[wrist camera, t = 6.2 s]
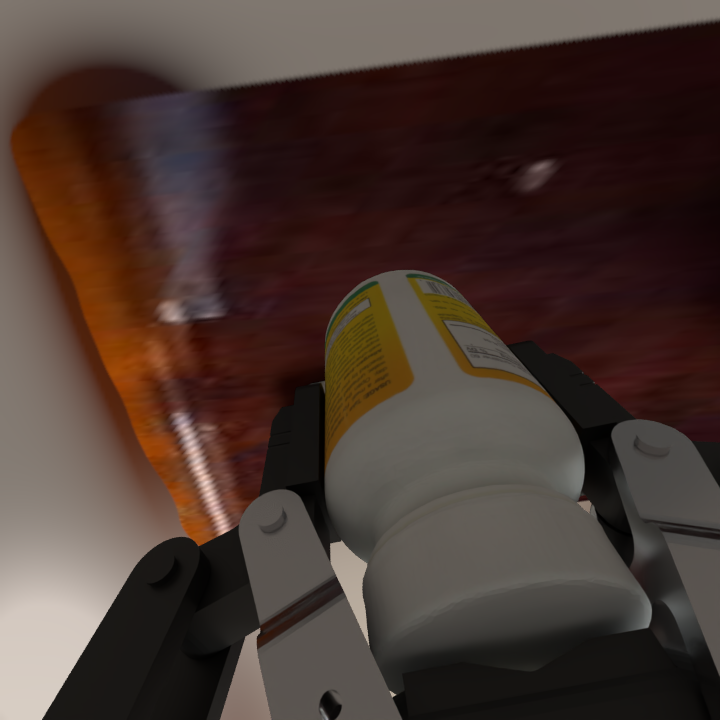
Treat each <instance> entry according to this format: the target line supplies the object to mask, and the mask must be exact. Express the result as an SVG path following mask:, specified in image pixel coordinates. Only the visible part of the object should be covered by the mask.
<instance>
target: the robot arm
mask: <svg viewBox="0 0 720 720" xmlns="http://www.w3.org/2000/svg"><path fill="white" fill-rule="evenodd" d="M506 346H507V347H508V348H509V350H510V351H511V352H512V353H513V354H514V355H515V356H516V357H517V359H518V360H519V361H520V362H521V363H522V364H523V365H524V366H525V368H526V369H527V370H528V371H529V372H530V373H531V374H532V376H533V377H534V378H535V379H536V380H537V381H538V383H539V384H540V385H541V386H542V387H543V388H544V389H545V390H546V392H547V393H548V394H549V395H550V397H551V398H552V399H553V400H554V401H555V403H556V404H557V405H558V406H559V407H560V408H561V410H562V411H563V412H564V414H565V415H566V416H567V418H568V419H569V420H570V422H571V423H572V425H573V427H574V429H575V431H576V433H577V435H578V437H579V440H580V443H581V446H582V450H583V454H584V464H585V473H584V482H583V486H582V490H581V493H580V496H582V495H586V496H587V498H588V499H589V500H590V502H591V503H592V505H591V508H590V514H591V515H592V516H593V517H594V518H595V519H596V520H597V521H598V522H599V523H600V525H601V526H602V528H603V530H604V532H605V534H606V536H607V538H608V539H609V541H610V542H611V544H612V545H613V547H614V548H615V550H616V551H617V553H618V554H619V555H620V557H621V558H622V560H623V561H624V563H625V564H626V566H627V567H628V569H629V570H630V572H631V573H632V575H633V576H634V577H635V579H636V580H637V582H638V583H639V585H640V586H641V588H642V589H643V590H644V592H645V593H646V595H647V597H648V599H649V601H650V604H651V607H652V616H651V621H650V623H649V626H648V628H643V629H638V630H633V631H627V632H622V633H616V634H611V635H606V636H600V637H595V638H590V639H587V640H585V641H584V642H582V643H580V644H579V645H577V646H576V647H574V648H572V649H571V650H569V651H567V652H566V653H564V654H562V655H561V656H559V657H558V658H556V659H554V660H553V661H551V662H549V663H548V664H546V665H545V666H543V667H541V668H540V669H538V670H535V671H521V670H514V669H507V668H500V667H493V666H486V665H479V664H472V663H465V662H461V663H455V664H450V665H444V666H439V667H434V668H428V669H423V670H418V671H412V672H407V673H402V676H403V683H404V689H405V690H404V691H402V692H401V693H399V694H397V695H396V696H394V697H393V698H392V696H391V694H390V692H389V689H388V687H387V685H386V683H385V681H384V678H383V676H382V674H381V672H380V670H379V668H378V665H377V663H376V661H375V659H374V657H373V654H372V652H371V650H370V648H369V646H368V643H367V641H366V639H365V637H364V635H363V633H362V630H361V628H360V626H359V624H358V622H357V619H356V617H355V615H354V613H353V611H352V609H351V606H350V604H349V602H348V600H347V597H346V595H345V593H344V591H343V589H342V587H341V585H340V583H339V581H338V579H337V577H336V574H335V572H334V570H333V568H332V566H331V563H330V543H334V542H340V541H341V538H340V537H339V535H338V534H337V532H336V530H335V528H334V527H333V524H332V522H331V520H330V517H329V514H328V511H327V507H326V501H325V485H324V441H325V392H324V389H323V386H322V384H321V383H315V384H311V385H306V386H301V387H296V390H295V399H294V405H292V406H287V407H282V408H281V409H280V411H279V412H278V414H277V415H276V417H275V418H274V420H273V422H272V427H271V433H270V436H271V438H270V439H269V444H268V448H269V449H268V450H267V456H266V461H265V467H264V472H263V478H262V484H261V489H260V495H259V497H258V498H257V499H256V500H254V501H253V502H252V503H251V504H250V505H249V507H248V508H247V509H246V510H245V512H244V514H243V515H242V518H241V520H240V524H239V525H238V526H236V527H235V528H234V529H232V530H230V531H228V532H226V533H224V534H222V535H220V536H218V537H216V538H214V539H212V540H210V541H209V542H207V543H205V544H203V545H201V546H198V545H197V544H196V543H195V541H193V540H192V539H190V538H187V537H176V538H172V539H169V540H167V541H164V542H162V543H161V544H159V545H157V546H156V547H154V548H153V549H152V550H150V551H149V552H148V553H147V554H146V555H145V556H144V557H143V558H142V559H141V560H140V561H139V562H138V564H137V565H136V566H135V568H134V569H133V571H132V572H131V574H130V576H129V577H128V579H127V581H126V582H125V584H124V585H123V587H122V589H121V590H120V592H119V594H118V595H117V597H116V599H115V600H114V602H113V604H112V605H111V607H110V609H109V610H108V612H107V613H106V615H105V617H104V618H103V620H102V622H101V623H100V625H99V627H98V628H97V630H96V632H95V633H94V635H93V637H92V638H91V640H90V642H89V643H88V645H87V647H86V648H85V650H84V652H83V653H82V655H81V656H80V658H79V660H78V661H77V663H76V665H75V666H74V668H73V669H72V671H71V673H70V674H69V676H68V678H67V680H66V681H65V683H64V684H63V686H62V688H61V689H60V691H59V693H58V694H57V696H56V698H55V699H54V701H53V702H52V704H51V706H50V707H49V709H48V711H47V712H46V714H45V716H44V717H43V719H42V720H220V717H221V714H222V711H223V708H224V704H225V701H226V698H227V695H228V691H229V688H230V685H231V682H232V678H233V675H234V672H235V668H236V665H237V662H238V659H239V656H240V653H241V649H242V646H243V643H244V640H245V636H247V635H249V634H250V633H252V632H254V631H255V630H257V629H259V628H260V630H261V631H260V634H259V635H258V636H257V651H258V658H259V663H260V668H261V672H262V677H263V681H264V686H265V691H266V696H267V700H268V705H269V709H270V714H271V718H272V720H720V443H716V442H696V441H690V440H689V439H688V438H687V437H686V436H685V435H683V434H682V433H680V432H679V431H677V430H675V429H673V428H671V427H669V426H666V425H664V424H661V423H657V422H653V421H648V420H637V419H635V418H634V417H633V416H632V415H631V414H630V413H629V412H628V411H626V410H625V409H624V408H623V407H622V406H621V405H620V404H619V403H617V402H616V401H615V400H614V399H613V398H612V397H611V396H610V395H608V394H607V393H606V392H605V391H604V390H603V389H602V388H600V387H599V386H598V385H597V384H596V385H595V384H594V381H593V380H591V379H590V378H589V377H588V376H587V375H584V372H582V371H581V370H580V369H579V368H578V367H577V366H576V365H575V364H573V363H572V362H571V361H569V360H567V359H565V358H562V357H560V356H558V355H556V354H554V353H552V354H546V353H545V352H544V351H543V350H542V349H540V348H539V347H538V346H537V345H536V344H535V343H534V342H533V341H525V342H520V343H515V344H510V345H506Z"/></svg>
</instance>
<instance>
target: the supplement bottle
mask: <svg viewBox="0 0 720 720" xmlns="http://www.w3.org/2000/svg"><path fill="white" fill-rule="evenodd" d="M584 473H585V464H584V454H583V450H582V446H581V443H580V440H579V437H578V435H577V433H576V431H575V429H574V427H573V425H572V423H571V422H570V420H569V419H568V418H567V416H566V415H565V414H564V412H563V411H562V410H561V408H560V407H559V406H558V405H557V404H556V403H555V401H554V400H553V399H552V398H551V397H550V395H549V394H548V393H547V392H546V390H545V389H544V388H543V387H542V386H541V385H540V384H539V383H538V381H537V380H536V379H535V378H534V377H533V376H532V374H531V373H530V372H529V371H528V370H527V369H526V368H525V366H524V365H523V364H522V363H521V362H520V361H519V360H518V359H517V357H516V356H515V355H514V354H513V353H512V352H511V351H510V350H509V348H508V347H507V346H506V345H505V344H504V343H503V342H502V341H501V340H500V338H499V337H498V336H497V335H496V334H495V333H494V332H493V331H492V329H491V328H490V327H489V326H488V325H487V324H486V323H485V321H484V320H483V319H482V318H481V317H480V315H479V314H478V313H477V312H476V311H475V310H474V309H473V308H472V306H471V305H470V304H469V303H468V302H467V300H466V299H465V298H464V297H463V296H462V295H461V294H460V293H459V292H458V291H457V290H456V289H455V288H454V287H453V286H451V285H450V284H449V283H447V282H446V281H444V280H442V279H441V278H439V277H436V276H434V275H432V274H429V273H425V272H422V271H414V270H397V271H391V272H386V273H382V274H380V275H377V276H374V277H372V278H370V279H368V280H366V281H364V282H362V283H360V284H359V285H358V286H357V287H355V288H354V289H353V290H352V291H351V292H350V293H349V294H348V295H347V296H346V297H345V298H344V299H343V300H342V302H341V303H340V304H339V305H338V307H337V308H336V310H335V312H334V313H333V315H332V317H331V320H330V322H329V325H328V328H327V332H326V339H325V441H324V485H325V501H326V507H327V511H328V514H329V517H330V520H331V522H332V524H333V527H334V528H335V530H336V532H337V534H338V535H339V537H340V538H341V540H342V541H343V542H344V543H345V545H346V546H347V547H348V548H349V549H350V550H351V551H352V552H353V553H354V554H355V555H356V556H358V557H359V558H360V559H362V560H363V561H365V562H366V563H368V564H367V569H366V572H365V575H364V578H363V589H362V590H363V599H364V603H365V608H366V618H367V629H368V637H369V646H370V650H371V652H372V654H373V657H374V659H375V661H376V663H377V665H378V668H379V670H380V672H381V674H382V676H383V678H384V681H385V683H386V685H387V687H388V689H389V691H392V692H393V693H394V694H399V693H401V692H402V691H404V690H405V689H404V683H403V676H402V673H407V672H412V671H418V670H423V669H428V668H434V667H439V666H444V665H450V664H455V663H461V662H465V663H472V664H479V665H486V666H493V667H500V668H507V669H514V670H521V671H535V670H538V669H540V668H541V667H543V666H545V665H546V664H548V663H549V662H551V661H553V660H554V659H556V658H558V657H559V656H561V655H562V654H564V653H566V652H567V651H569V650H571V649H572V648H574V647H576V646H577V645H579V644H580V643H582V642H584V641H585V640H587V639H590V638H595V637H600V636H606V635H611V634H616V633H622V632H627V631H633V630H638V629H643V628H648V626H649V623H650V621H651V616H652V607H651V604H650V601H649V599H648V597H647V595H646V593H645V592H644V590H643V589H642V588H641V586H640V585H639V583H638V582H637V580H636V579H635V577H634V576H633V575H632V573H631V572H630V570H629V569H628V567H627V566H626V564H625V563H624V561H623V560H622V558H621V557H620V555H619V554H618V553H617V551H616V550H615V548H614V547H613V545H612V544H611V542H610V541H609V539H608V538H607V536H606V534H605V532H604V530H603V528H602V526H601V525H600V523H599V522H598V521H597V520H596V519H595V518H594V517H593V516H592V515H591V514H589V513H588V512H587V511H585V510H584V509H583V508H582V507H581V506H580V505H579V504H578V503H577V502H578V500H579V497H580V493H581V490H582V486H583V482H584Z"/></svg>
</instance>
